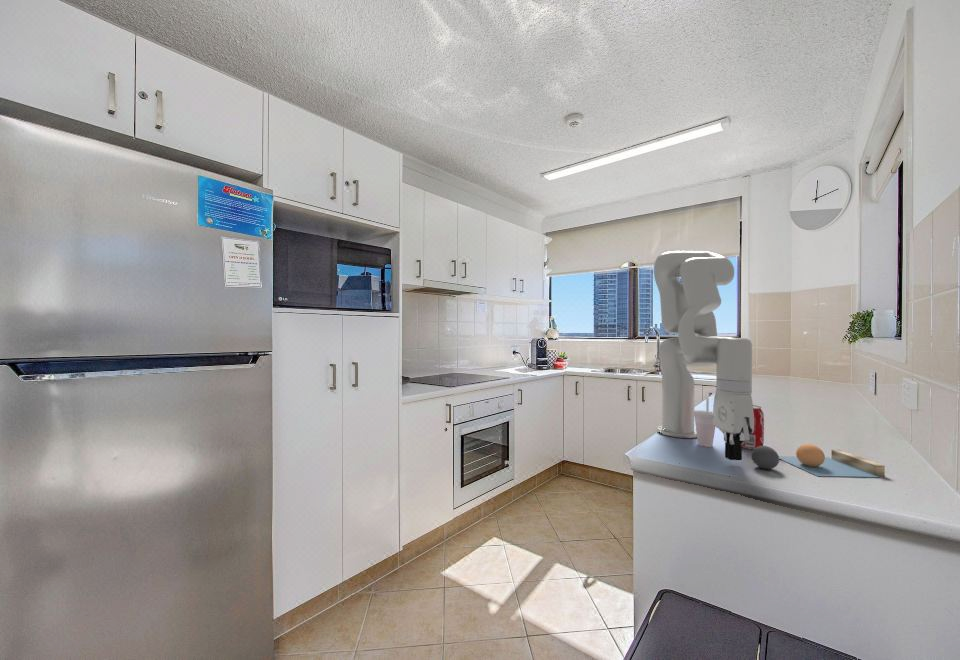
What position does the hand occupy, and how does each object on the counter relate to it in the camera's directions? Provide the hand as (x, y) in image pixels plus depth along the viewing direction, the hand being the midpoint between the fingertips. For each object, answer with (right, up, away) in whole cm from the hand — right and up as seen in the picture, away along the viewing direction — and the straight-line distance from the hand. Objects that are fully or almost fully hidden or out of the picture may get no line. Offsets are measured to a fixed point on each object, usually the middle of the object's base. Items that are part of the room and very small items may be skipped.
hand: (733, 458), depth 98 cm
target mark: (+22, -2, -1) cm, 22 cm away
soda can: (+15, -2, +15) cm, 21 cm away
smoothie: (+3, -2, +17) cm, 17 cm away
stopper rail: (+30, -2, -1) cm, 30 cm away
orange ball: (+19, +1, -1) cm, 19 cm away
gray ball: (+6, +1, -2) cm, 7 cm away
